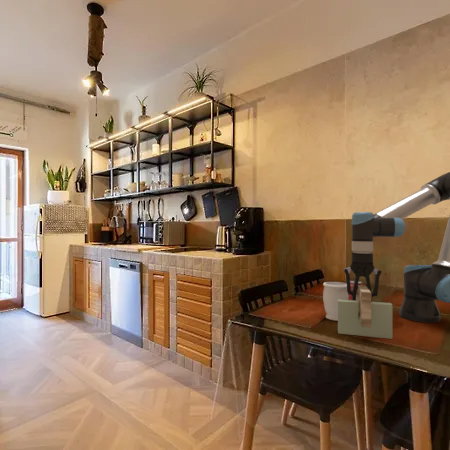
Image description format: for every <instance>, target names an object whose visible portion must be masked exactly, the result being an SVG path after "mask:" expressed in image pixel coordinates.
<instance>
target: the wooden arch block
mask: <svg viewBox="0 0 450 450" xmlns="http://www.w3.org/2000/svg"><path fill="white" fill-rule="evenodd" d="M357 296H358V317H360V324H361V326H362V327H370V328H371V292H370V290H369V289H368V288H367V286H366V284H363V285H358V288H357Z"/></svg>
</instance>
